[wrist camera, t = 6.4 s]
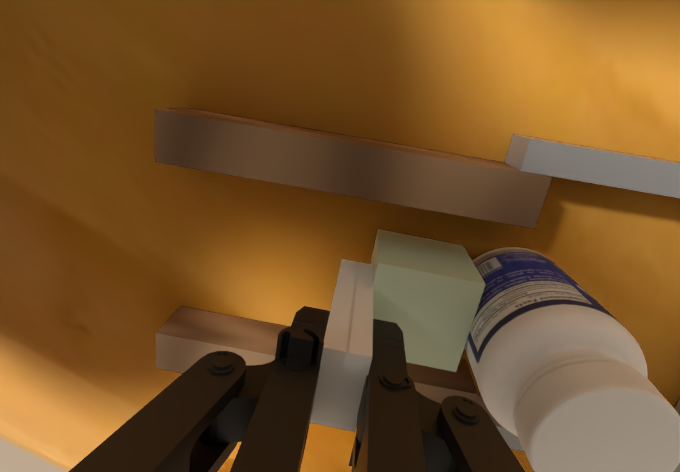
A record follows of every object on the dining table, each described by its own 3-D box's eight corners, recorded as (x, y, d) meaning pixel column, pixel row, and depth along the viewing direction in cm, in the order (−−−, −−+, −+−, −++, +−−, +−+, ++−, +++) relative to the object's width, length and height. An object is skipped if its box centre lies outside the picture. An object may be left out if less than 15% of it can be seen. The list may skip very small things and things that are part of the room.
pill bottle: (568, 332, 19) (714, 512, 11) (459, 350, 20) (517, 530, 12) (557, 231, 18) (719, 352, 9) (439, 256, 19) (490, 387, 10)
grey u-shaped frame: (431, 404, 21) (437, 434, 20) (512, 133, 16) (530, 138, 15) (674, 451, 21) (704, 486, 19) (832, 188, 16) (892, 200, 14)
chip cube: (361, 303, 20) (357, 352, 16) (377, 228, 18) (378, 262, 15) (440, 319, 20) (456, 372, 16) (463, 245, 18) (485, 284, 15)
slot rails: (179, 338, 21) (155, 368, 19) (184, 107, 17) (155, 109, 15) (455, 390, 21) (465, 427, 19) (527, 166, 17) (552, 177, 15)
